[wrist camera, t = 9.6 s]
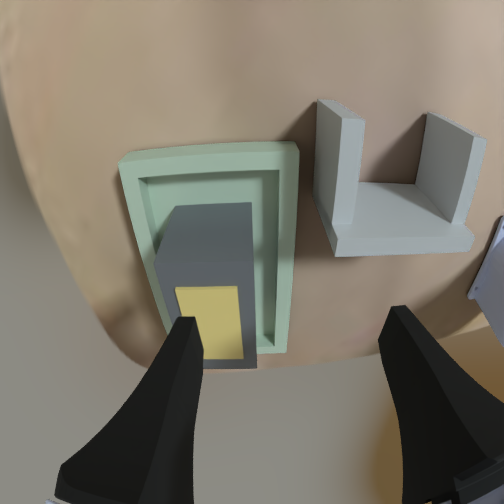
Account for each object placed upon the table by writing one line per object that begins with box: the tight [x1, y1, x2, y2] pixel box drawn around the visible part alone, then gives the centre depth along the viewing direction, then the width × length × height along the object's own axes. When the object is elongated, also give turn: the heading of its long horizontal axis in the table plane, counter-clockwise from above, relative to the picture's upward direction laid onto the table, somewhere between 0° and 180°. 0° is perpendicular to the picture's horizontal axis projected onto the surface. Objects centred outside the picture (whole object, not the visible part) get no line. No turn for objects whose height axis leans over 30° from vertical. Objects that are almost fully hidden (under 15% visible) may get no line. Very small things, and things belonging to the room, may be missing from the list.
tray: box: [118, 141, 299, 354], centre depth 21 cm, size 17×10×2 cm, turn 2°
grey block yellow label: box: [153, 202, 257, 369], centre depth 19 cm, size 9×5×6 cm, turn 2°
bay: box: [312, 99, 487, 257], centre depth 14 cm, size 6×8×6 cm
